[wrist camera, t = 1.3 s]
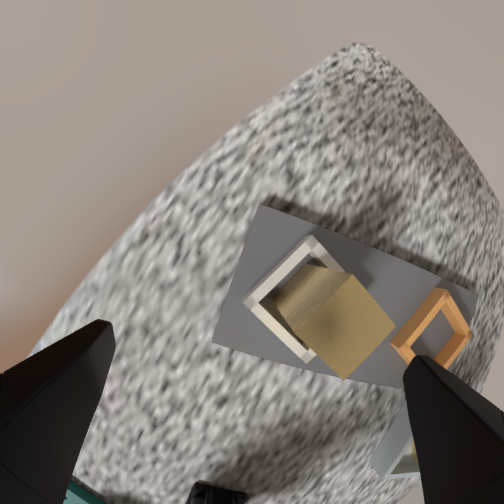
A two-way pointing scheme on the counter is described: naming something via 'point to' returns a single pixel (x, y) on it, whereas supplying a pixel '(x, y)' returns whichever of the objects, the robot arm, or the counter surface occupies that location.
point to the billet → (333, 316)
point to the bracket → (80, 495)
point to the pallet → (372, 279)
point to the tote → (396, 450)
